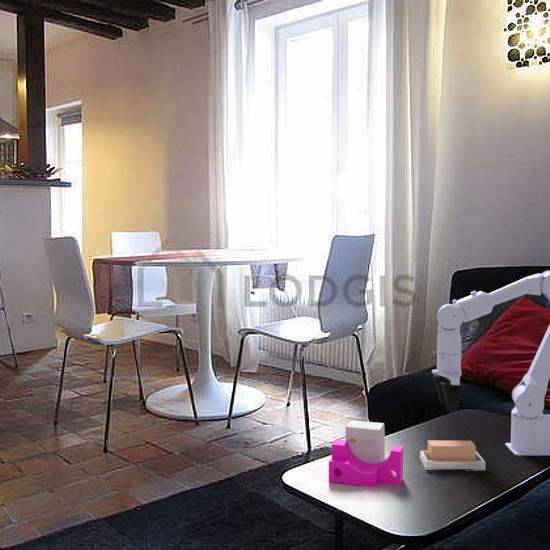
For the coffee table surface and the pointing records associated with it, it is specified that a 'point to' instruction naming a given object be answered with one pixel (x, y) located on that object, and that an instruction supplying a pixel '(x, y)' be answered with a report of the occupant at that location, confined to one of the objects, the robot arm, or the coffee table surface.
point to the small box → (366, 440)
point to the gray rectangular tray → (452, 463)
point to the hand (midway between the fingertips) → (448, 407)
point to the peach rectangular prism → (451, 451)
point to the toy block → (364, 467)
